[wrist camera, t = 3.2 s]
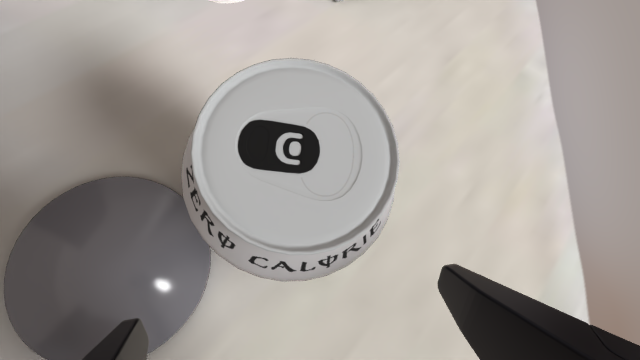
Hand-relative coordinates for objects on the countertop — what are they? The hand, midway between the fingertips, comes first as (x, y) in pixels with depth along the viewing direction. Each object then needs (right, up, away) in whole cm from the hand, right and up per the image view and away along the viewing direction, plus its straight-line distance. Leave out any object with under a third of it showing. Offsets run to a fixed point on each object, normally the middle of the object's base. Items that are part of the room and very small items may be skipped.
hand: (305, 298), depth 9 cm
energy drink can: (-3, 0, +12) cm, 13 cm away
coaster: (-12, -2, +10) cm, 16 cm away
